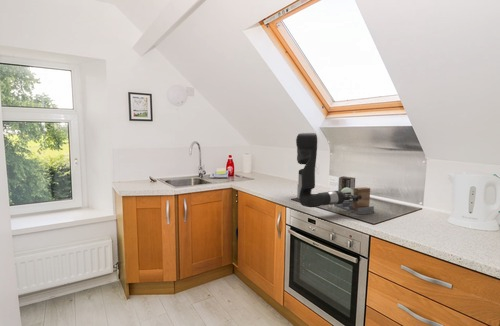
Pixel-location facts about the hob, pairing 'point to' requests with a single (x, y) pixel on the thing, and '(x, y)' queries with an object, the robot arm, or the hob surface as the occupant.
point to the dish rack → (362, 210)
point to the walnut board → (365, 198)
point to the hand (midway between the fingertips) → (355, 195)
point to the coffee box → (346, 183)
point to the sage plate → (347, 191)
